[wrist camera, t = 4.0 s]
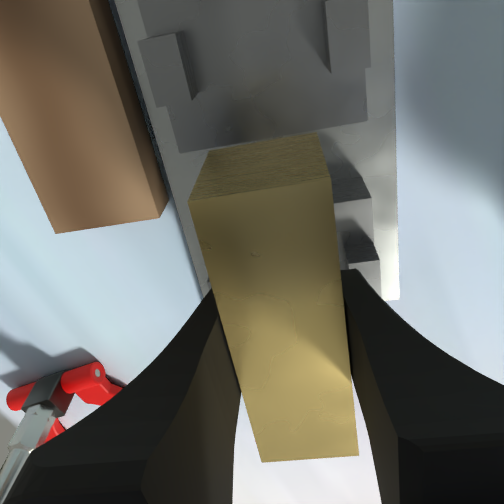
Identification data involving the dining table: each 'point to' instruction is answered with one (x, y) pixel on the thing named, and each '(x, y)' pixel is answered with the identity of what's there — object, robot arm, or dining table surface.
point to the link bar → (279, 292)
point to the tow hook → (49, 412)
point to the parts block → (76, 114)
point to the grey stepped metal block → (278, 103)
